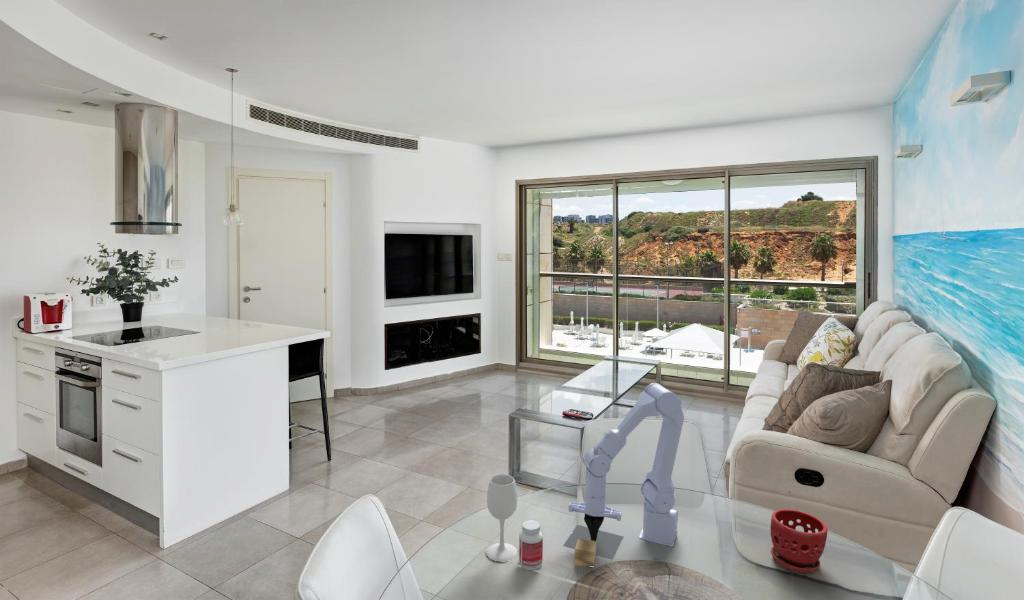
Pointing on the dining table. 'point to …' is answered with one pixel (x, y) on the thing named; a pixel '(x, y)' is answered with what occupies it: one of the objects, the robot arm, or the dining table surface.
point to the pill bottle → (530, 545)
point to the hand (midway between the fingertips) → (593, 538)
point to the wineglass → (502, 513)
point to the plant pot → (797, 540)
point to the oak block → (585, 553)
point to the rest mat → (604, 542)
